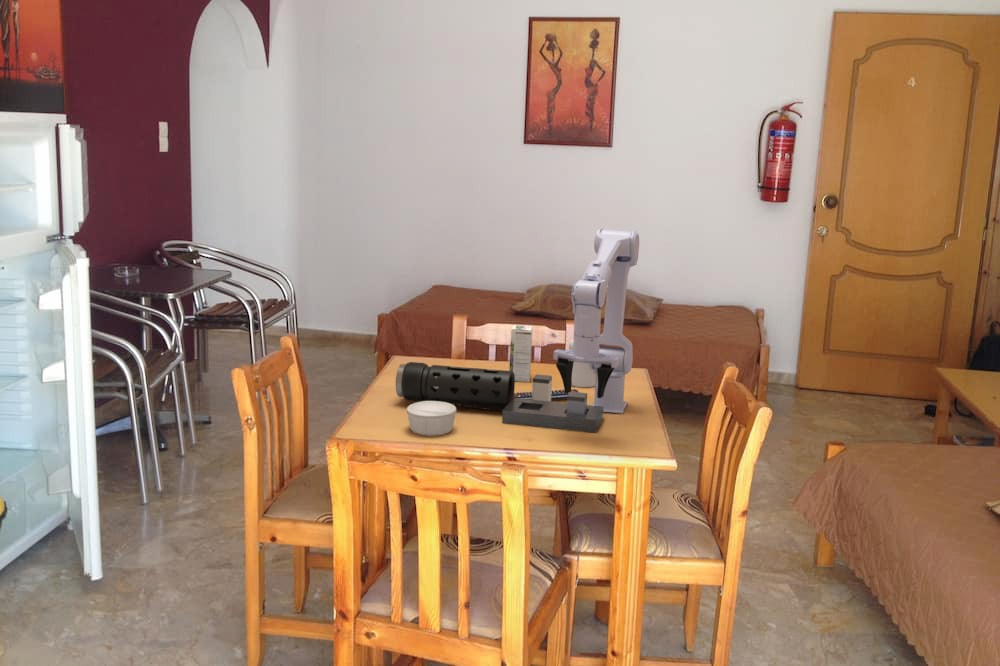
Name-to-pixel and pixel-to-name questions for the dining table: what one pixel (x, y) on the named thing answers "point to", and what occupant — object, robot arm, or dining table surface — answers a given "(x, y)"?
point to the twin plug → (577, 403)
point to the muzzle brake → (456, 385)
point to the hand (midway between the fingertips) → (584, 394)
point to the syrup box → (521, 352)
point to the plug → (542, 387)
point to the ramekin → (431, 417)
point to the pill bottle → (582, 373)
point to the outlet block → (551, 415)
